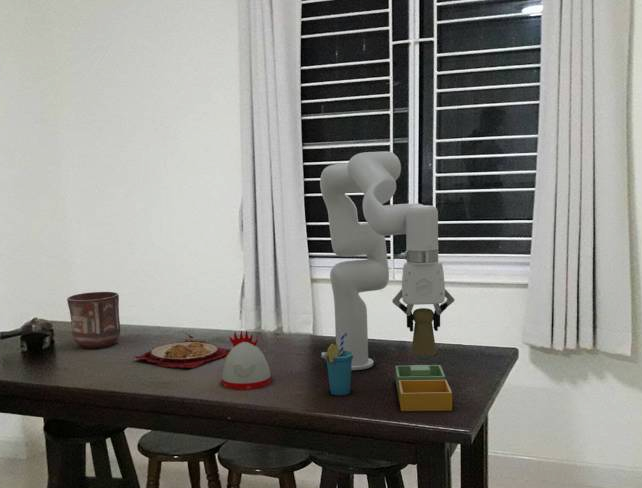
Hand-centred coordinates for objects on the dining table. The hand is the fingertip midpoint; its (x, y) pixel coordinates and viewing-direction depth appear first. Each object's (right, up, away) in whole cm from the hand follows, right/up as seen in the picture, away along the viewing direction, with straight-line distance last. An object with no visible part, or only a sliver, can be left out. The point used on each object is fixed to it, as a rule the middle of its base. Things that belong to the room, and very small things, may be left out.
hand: (423, 329), depth 187 cm
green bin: (+3, -16, +17) cm, 24 cm away
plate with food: (-64, -12, +62) cm, 90 cm away
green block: (+3, -16, +17) cm, 23 cm away
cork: (0, -6, +1) cm, 6 cm away
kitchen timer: (-44, -17, +30) cm, 56 cm away
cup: (-19, -18, +17) cm, 31 cm away
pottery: (-99, -10, +86) cm, 131 cm away
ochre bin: (+1, -19, +3) cm, 19 cm away
